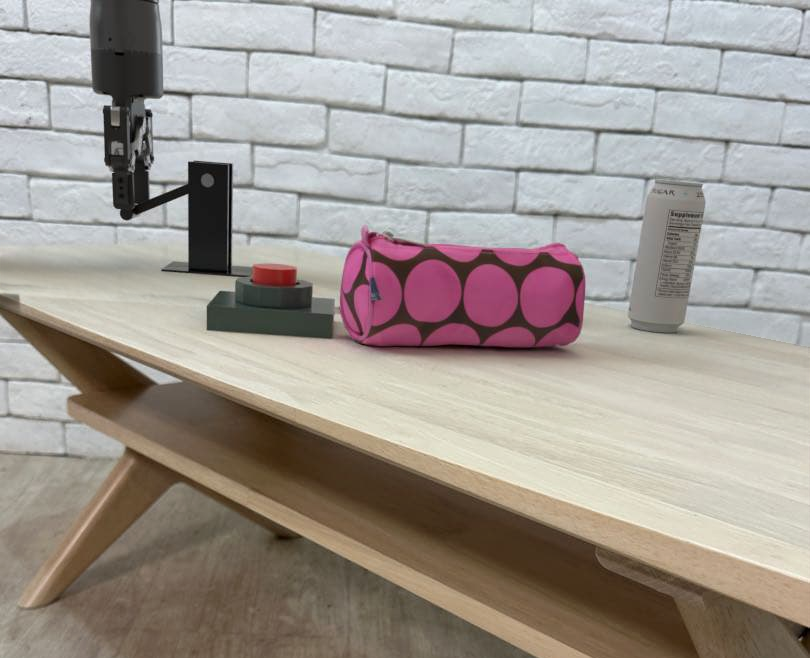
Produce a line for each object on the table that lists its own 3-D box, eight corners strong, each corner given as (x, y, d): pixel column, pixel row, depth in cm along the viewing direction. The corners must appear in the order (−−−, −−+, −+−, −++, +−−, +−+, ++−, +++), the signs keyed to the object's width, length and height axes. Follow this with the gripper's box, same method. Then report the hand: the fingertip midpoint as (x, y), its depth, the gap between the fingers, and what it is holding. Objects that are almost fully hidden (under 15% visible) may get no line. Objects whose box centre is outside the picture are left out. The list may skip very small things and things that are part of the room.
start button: (250, 287, 88) (250, 267, 88) (254, 281, 92) (254, 262, 92) (295, 291, 89) (296, 270, 88) (297, 284, 92) (298, 265, 92)
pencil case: (365, 358, 82) (373, 231, 78) (331, 334, 90) (337, 219, 86) (591, 358, 89) (608, 242, 85) (540, 336, 98) (554, 230, 94)
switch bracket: (161, 280, 113) (159, 159, 108) (173, 271, 120) (172, 158, 115) (250, 286, 114) (252, 167, 109) (256, 277, 121) (258, 165, 116)
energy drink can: (660, 323, 112) (684, 181, 106) (694, 333, 106) (721, 185, 101) (615, 322, 109) (637, 178, 104) (647, 333, 104) (672, 182, 99)
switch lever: (125, 226, 112) (115, 205, 111) (134, 223, 117) (124, 202, 116) (224, 186, 111) (215, 164, 110) (229, 184, 115) (220, 163, 115)
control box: (206, 330, 87) (206, 284, 86) (219, 313, 96) (219, 271, 94) (332, 339, 88) (334, 293, 87) (334, 321, 96) (336, 279, 95)
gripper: (106, 51, 114) (113, 200, 120) (73, 40, 101) (82, 208, 107) (173, 56, 114) (176, 204, 120) (149, 46, 101) (153, 213, 107)
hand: (132, 206), depth 113 cm, fingers open, 8 cm apart
